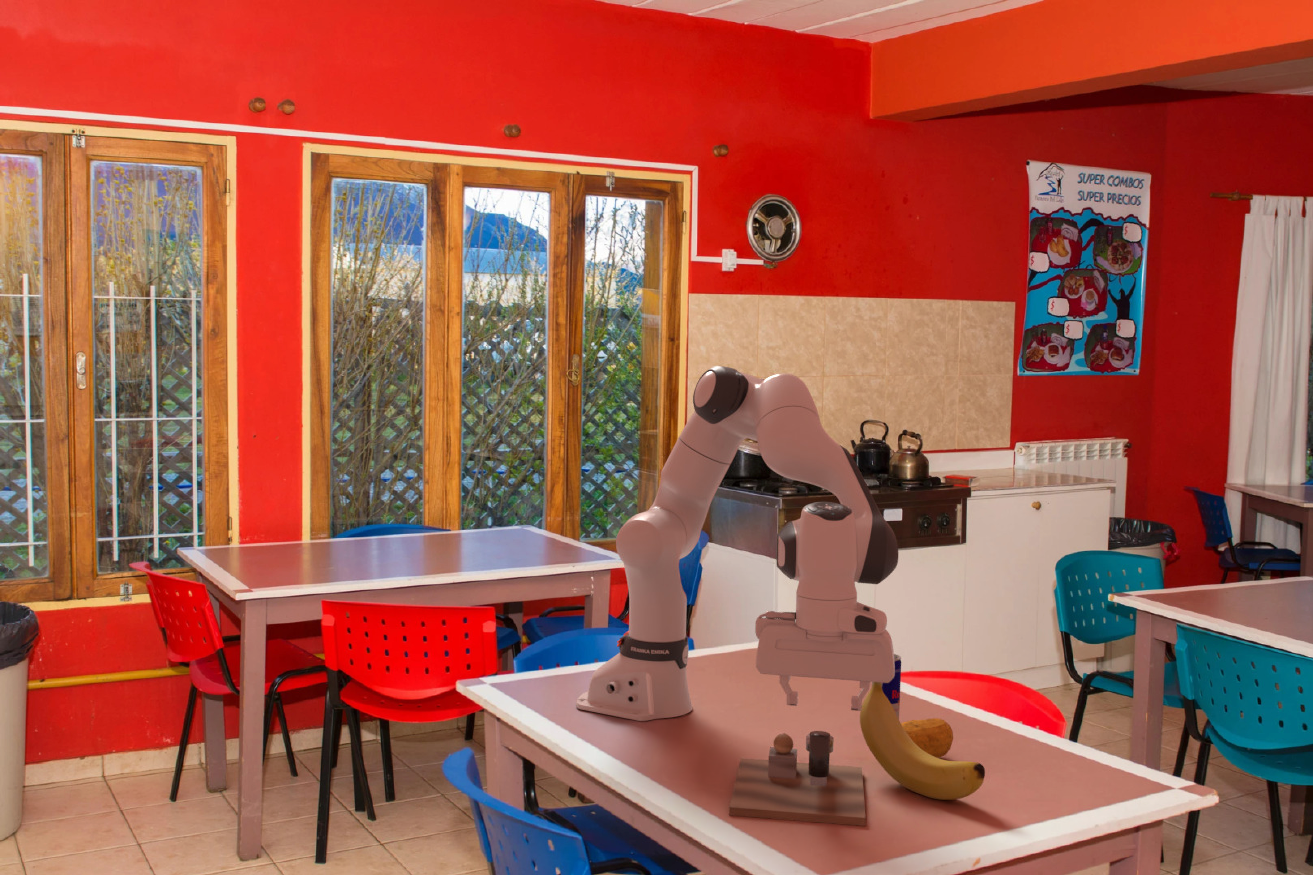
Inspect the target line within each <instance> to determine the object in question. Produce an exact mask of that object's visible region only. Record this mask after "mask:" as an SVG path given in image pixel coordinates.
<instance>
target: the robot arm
mask: <svg viewBox="0 0 1313 875" xmlns="http://www.w3.org/2000/svg"><path fill="white" fill-rule="evenodd" d="M692 403H693V409H694V412H693V413H692V414H691V416H690V417H689V419H688V421H687V422H686V424H685V425H684V427H683V429H682V431H681V433H680V435H679V436H678V438H677V440H676V442H675V444H674V446H673V448H672V449H671V452H670V454H669V456H668V458H667V460H666V461H665V463H664V465H663V468H662V469H661V472H660V482H659V485H658V490H657V493H656V496H655V499H654V501H653V503H652V505H651V506H650V507H649V509H647V510H646V511H643V512H640V513H636V514H634V515H633V516H631V517H630V518H629V519H627V521H626V522H624V524H623V525H622V526H621V528H620V529H619V531H618V533H617V535H616V541H615V547H616V552H617V555H618V556H619V558H620V560H621V561H622V563H623V566H624V572H625V576H626V582H627V588H628V597H629V599H628V600H629V603H628V604H629V605H628V606H629V608H628V610H629V613H628V614H629V615H628V616H629V619H628V621H629V622H628V631H625V633H623V636H621V637H620V638H619V640H617V641H616V643H617V645H616V647H617V648H619V652H618V653H617V654H616V655H614V656H613V657H611V658H609V660H608V661H606V662H605V663H603V664H602V665H600V666H599V667H598V668H597V669H596V670H595V671H594V672H593V673H592V675H591V678H590V680H589V686H588V690H587V691H585V692H583V693H582V694H580V696H579V697H577V699H576V708H577V709H578V710H583V711H587V712H594V713H598V714H603V715H608V716H613V717H617V718H618V717H619V718H623V719H628V720H633V721H638V722H645V721H650V720H656V719H665V718H669V719H670V718H674V717H680V716H684V715H686V714H688V713H690V712H691V711H692V710H693V705H692V701H691V696H690V691H689V684H688V675H687V666H688V661H689V641H688V640H689V639H688V638H689V637H688V635H687V606H688V604H687V602H688V599H687V597H688V596H687V594H686V592H685V591H684V588H683V585H682V581H681V580H682V579H681V573H680V567H679V566H680V564H679V563H680V560H681V559H684V558H685V557H687V556H688V555H689V554H690V553H691V552H692V551H693V550H694V548H695V547H696V546H697V544H698V543H699V540H700V537H701V531H702V529H703V526H704V524H705V522H706V518H707V515H708V513H709V509H710V506H711V503H712V502H713V499H714V497H715V495H716V492H717V491H718V488H719V487H720V485H721V483H722V481H723V479H724V478H725V475H726V474H727V472H728V470H729V468H730V466H731V464H732V463H733V460H734V458H735V456H736V455H737V452H738V449H739V448H740V446H741V443H742V442H743V441H745V440H747V439H750V440H752V441H755V442H757V445H758V449H759V450H758V451H759V452H760V455H761V458H762V460H763V461H764V463H765V464H766V466H767V467H768V468H769V469H770V470H772V471H773V472H775V474H778V475H779V476H781V477H783V478H785V479H788V480H793V481H798V482H802V483H807V484H810V485H813V486H816V487H819V488H822V489H824V490H826V491H828V492H830V493H832V494H833V495H834V496H836V498H837V499H838V501H839V503H837V502H831V501H817V502H812V503H809V504H806V505H805V506H804V507H802V509H801V512H800V513H801V515H800V518H798V519H796V520H792V521H791V520H790V521H788V522H787V523H786V524H785V525H784V526H783V527H782V528H781V529H780V530H779V531H778V532H777V534H776V567H777V568H778V570H779V571H780V572H781V573H783V574H784V575H785V577H787V578H789V579H790V580H794V581H796V582H797V581H798V584H797V589H796V591H795V592H796V593H795V596H796V597H795V598H796V599H795V612H793V611H791V612H790V611H779V612H778V611H775V610H774V611H773V610H768V611H765V612H764V613H762V614H759V615H758V617H757V618H756V620H755V625H754V626H755V630H754V632H755V636H756V638H757V639H758V644H757V649H756V658H755V668H756V669H757V671H758V672H759V674H761V675H769V676H771V675H772V676H779V682H778V683H779V684H780V685H781V686H780V687H781V688H782V690H783V692H784V693H785V694H786V706H792V707H793V706H794V707H797V706H798V703H799V702H798V701H799V700H798V695H799V694H798V693H799V692H798V691H794V690H793V689H792V687H791V686H790V684H789V683H790V681H791V677H798V678H799V677H800V678H813V679H825V680H826V679H827V680H828V679H829V680H839V681H840V680H842V681H854V682H855V681H856V682H859V688H860V689H861V690H860V692H859V693H858V694H857V695H851V699H850V700H851V701H850V703H851V706H850V710H851V711H858V712H861V709H862V704H863V699H864V698H865V697H866V696H867V695H866V694H868V693H869V691H870V686H871V683H872V682H881V683H889V682H890V681H891V680H892V679H893V678H894V675H895V663H894V654H895V653H894V644H893V639H892V637H891V634H890V632H889V631H888V630H887V627H888V626H887V625H888V617H887V614H886V612H884V611H883V610H880V609H878V608H874V607H871V606H870V605H869V606H868V605H867V604H863V603H862V602H861V603H860V602H859V601H858V592H857V587H856V583H858V584H869V585H878V584H881V583H882V582H883V581H884V580H886V579H887V578H888V577H889V576H890V575H891V574H892V573H893V571H895V570H896V568H897V566H898V563H899V546H898V541H897V537H896V534H895V533H894V530H893V529H892V527H891V526H890V525H889V523H888V522H887V521H886V519H885V518H884V516H883V515H882V513H881V512H880V510H879V507H878V506H877V504H876V502H875V500H874V497H873V495H872V492H871V491H870V489H869V487H868V485H867V483H866V481H865V479H864V477H863V475H862V472H861V471H860V469H859V466H858V464H857V463H856V461H855V459H854V458H853V456H852V454H851V453H850V451H849V450H848V449H847V448H845V447H844V446H843V445H841V444H839V443H838V442H836V441H835V440H834V439H833V438H832V437H831V436H830V435H829V434H828V432H826V430H825V429H824V427H823V426H822V424H821V419H820V415H819V412H818V409H817V405H816V403H815V401H814V399H813V397H812V395H811V392H810V390H809V389H808V387H807V385H806V383H805V382H804V381H803V380H802V379H801V378H800V377H798V376H797V375H794V374H791V373H790V374H789V373H783V372H782V373H776V374H773V375H771V376H768V377H766V378H759V377H756V376H753V375H751V374H748V373H745V372H741V371H739V370H738V369H735V368H733V367H729V366H722V365H721V366H720V365H714V366H712V367H711V368H708V369H707V370H706V371H705V372H703V373H702V374H701V376H700V377H699V380H698V381H697V382H696V385H695V388H694V391H693V394H692Z"/></svg>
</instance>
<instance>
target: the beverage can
mask: <svg viewBox="0 0 1313 875" xmlns="http://www.w3.org/2000/svg"><path fill="white" fill-rule="evenodd" d="M901 659H902V656H901V655H900V654H896V653H894V663H895V675H894V678H893V679H892V680H891V681H890V682H889V683H881V687H882V690H883V693H884V694H885V696H886V697H887V698H888V700H889V701H890V703H891V705H892V707H893V709H894V711H895V713H896V715H897V717H898V719H899V720H900V709H901V708H900V705H901V704H900V702H901V678H902V660H901ZM872 685H873V682H871V686H872Z"/></svg>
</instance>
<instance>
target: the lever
mask: <svg viewBox="0 0 1313 875" xmlns="http://www.w3.org/2000/svg"><path fill="white" fill-rule="evenodd" d="M834 738H835V737H833V735H831V734H830V733H829V732H827V731H822V730H814V731H810V732H809V733H808V734H806V737H805V750H806V751H807V752H808V763H809V772H808V773H809V775H810V785H814V786H826V785H827V776H829V765H830V756H831V755H830V754H832V753H834V742H835V741H834Z"/></svg>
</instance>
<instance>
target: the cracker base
mask: <svg viewBox="0 0 1313 875" xmlns="http://www.w3.org/2000/svg"><path fill="white" fill-rule="evenodd" d="M772 743H773V746H771V747H770V748H769V751H768V760H767V759H755V758H754V759H753V758H752V759H751V758H740V760H739V763H738V769H737V773H736V777H735V782H734V785H733V790H732V794H731V798H730V802H729V807H728V809H729V810H728V815H729V816H737V817H747V818H748V817H749V818H750V817H751V818H761V819H776V820H786V821H787V820H788V821H797V822H798V821H801V822H810V823H811V822H812V823H825V824H837V825H849V826H859V827H860V826H862V827H865V826H866V820H867V819H866V808H865V806H866V804H865V794H864V790H865V789H864V778H863V777H864V776H863V767H861V766H849V765H848V766H847V765H837V764H829V776H827V785H826V786H814V785H810V775H809V773H808V772H809V762H807V763H806V762H798V748H793V747H794V740H793V738H792V737H791V736H790V735H789V734H786V733H780V734H778V735H776V736H775V737H774V739H773V742H772Z"/></svg>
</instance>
